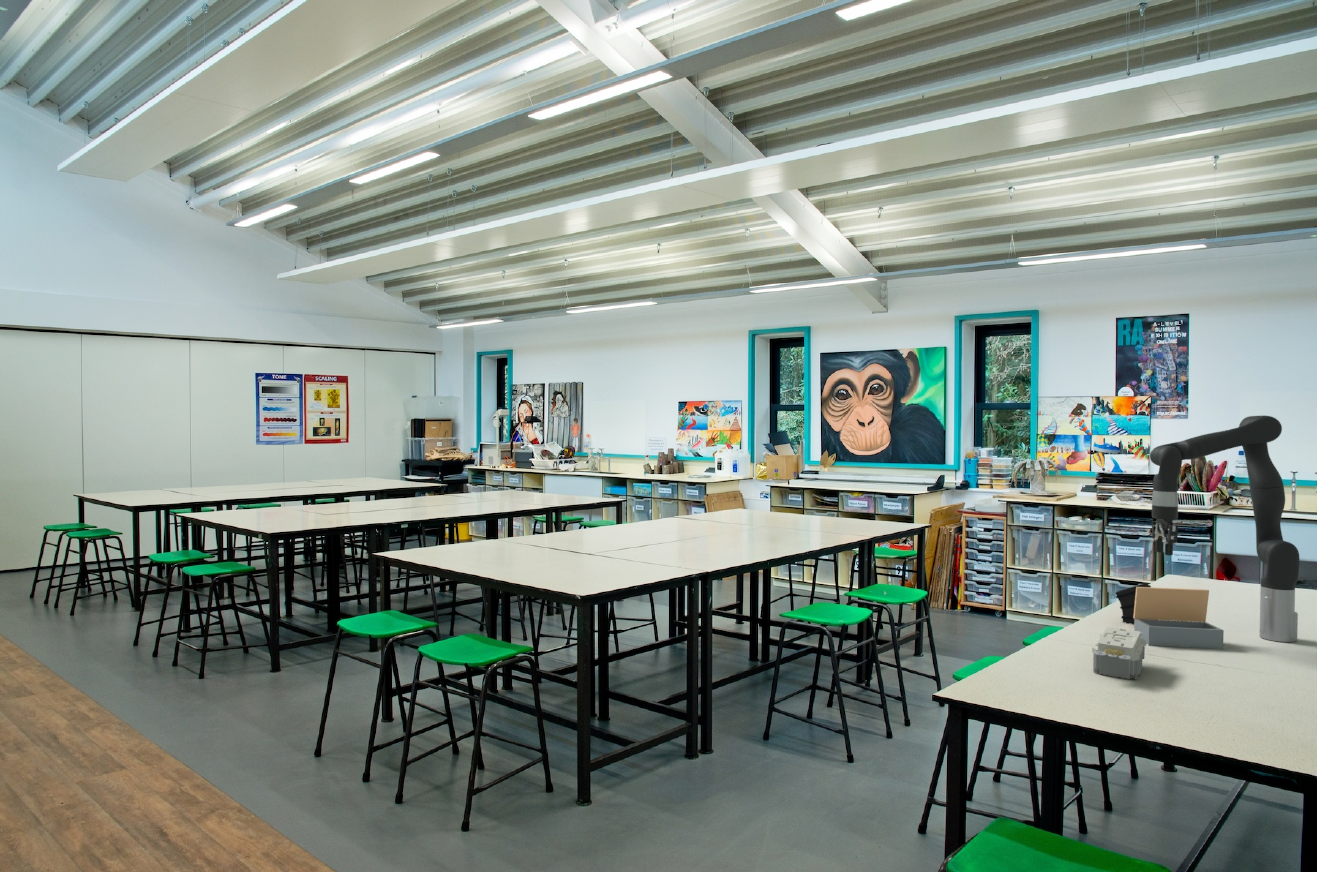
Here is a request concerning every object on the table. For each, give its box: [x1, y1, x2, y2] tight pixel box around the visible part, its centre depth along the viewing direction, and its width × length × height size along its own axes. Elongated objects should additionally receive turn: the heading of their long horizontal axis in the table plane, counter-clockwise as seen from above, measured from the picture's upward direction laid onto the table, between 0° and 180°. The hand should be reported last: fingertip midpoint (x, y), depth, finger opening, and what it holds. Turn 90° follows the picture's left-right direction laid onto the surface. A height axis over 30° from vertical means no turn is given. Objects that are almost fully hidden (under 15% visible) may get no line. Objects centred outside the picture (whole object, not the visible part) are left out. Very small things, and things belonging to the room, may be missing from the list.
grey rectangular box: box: [1133, 619, 1225, 650], centre depth 265 cm, size 22×11×6 cm, turn 81°
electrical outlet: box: [1091, 626, 1147, 680], centre depth 234 cm, size 12×28×10 cm, turn 143°
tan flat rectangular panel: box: [1133, 586, 1210, 622], centre depth 270 cm, size 22×11×1 cm
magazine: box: [1115, 582, 1152, 625], centre depth 291 cm, size 4×13×15 cm, turn 52°
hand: (1164, 553), depth 275 cm, fingers open, 6 cm apart
